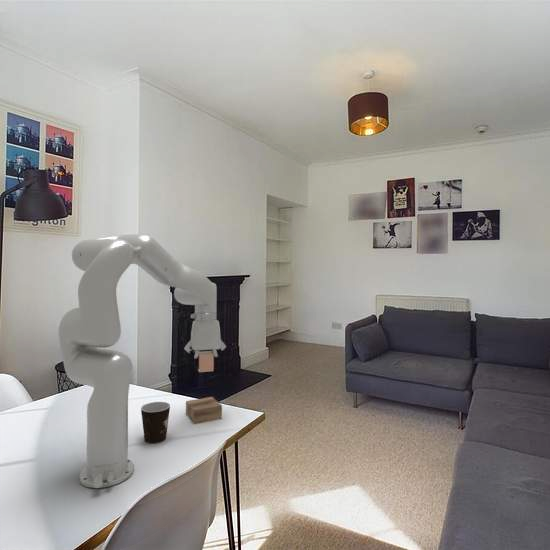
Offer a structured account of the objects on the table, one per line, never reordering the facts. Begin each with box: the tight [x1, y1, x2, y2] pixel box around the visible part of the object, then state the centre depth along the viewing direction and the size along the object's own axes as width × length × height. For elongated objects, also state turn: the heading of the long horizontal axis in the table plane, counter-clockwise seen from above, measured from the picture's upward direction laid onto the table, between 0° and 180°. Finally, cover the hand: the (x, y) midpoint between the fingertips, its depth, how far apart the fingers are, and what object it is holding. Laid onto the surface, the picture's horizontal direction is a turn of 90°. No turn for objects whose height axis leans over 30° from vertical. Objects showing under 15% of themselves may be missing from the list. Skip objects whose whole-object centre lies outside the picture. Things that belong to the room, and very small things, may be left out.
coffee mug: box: [140, 401, 171, 445], centre depth 113 cm, size 12×9×10 cm
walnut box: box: [185, 396, 223, 425], centre depth 132 cm, size 10×10×5 cm
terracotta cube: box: [197, 350, 215, 373], centre depth 131 cm, size 5×5×6 cm
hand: (205, 367), depth 131 cm, fingers closed on terracotta cube, 5 cm apart
